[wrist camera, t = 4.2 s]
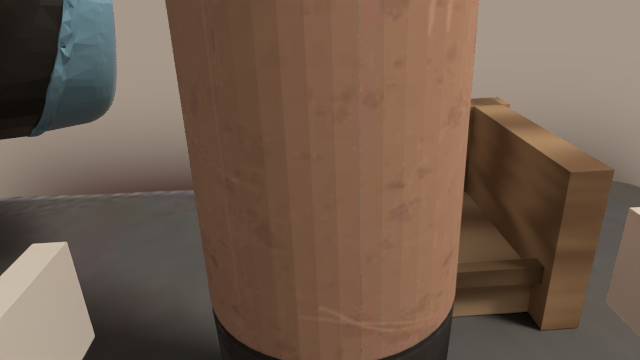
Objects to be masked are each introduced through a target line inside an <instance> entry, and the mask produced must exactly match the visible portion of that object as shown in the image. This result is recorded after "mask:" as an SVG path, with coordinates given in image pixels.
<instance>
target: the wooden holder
mask: <svg viewBox="0 0 640 360" xmlns="http://www.w3.org/2000/svg"><path fill="white" fill-rule="evenodd" d="M509 107H510V104H509V103H507V102H505V101H503V100H501V99H500V98H479V99H471V104H470V116H469V129H468V141H467V153H466V166H465V178H464V191H463V203H462V215H461V228H460V240H459V252H458V265H457V277H456V290H455V297H454V308H453V315H452V317H457V316H472V315H486V314H500V313H514V312H528V313H529V314H530V316H531V317H532V319H533V320H534V321H535V323H536V324H537V326H538V327H539V328H540V330H552V329H566V328H578V325H579V321H580V317H581V312H582V308H583V304H584V299H585V295H586V291H587V286H588V282H589V278H590V273H591V269H592V265H593V260H594V256H595V252H596V247H597V243H598V239H599V234H600V230H601V226H602V221H603V217H604V213H605V208H606V204H607V200H608V195H609V191H610V187H611V182H612V178H613V173H614V169H612V168H610V167H609V166H607V165H605V164H604V163H602V162H600V161H599V160H597V159H595V158H593V157H592V156H590V155H588V154H587V153H585V152H583V151H581V150H580V149H578V148H576V147H575V146H573V145H571V144H569V143H568V142H566V141H564V140H562V139H561V138H559V137H557V136H556V135H554V134H552V133H551V132H549V131H547V130H545V129H544V128H542V127H540V126H539V125H537V124H535V123H533V122H532V121H530V120H528V119H527V118H525V117H523V116H522V115H520V114H518V113H516V112H515V111H513V110H511V109H510V108H509Z"/></svg>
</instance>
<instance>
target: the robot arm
mask: <svg viewBox="0 0 640 360" xmlns="http://www.w3.org/2000/svg"><path fill="white" fill-rule="evenodd" d="M116 67H117V66H116V38H115V24H114V13H113V3H112V0H0V140H1V139H9V138H16V137H25V136H27V137H34V136H39V135H41V134H42V133H44V132H45V131H50V130H55V129H60V128H65V127H70V126H75V125H80V124H85V123H89V122H92V121H95V120H97V119H98V118H100V117H101V116H103V115H104V114H105V113H106V112H107V111H108V110H109V108H110V106H111V105H112V102H113V100H114V96H115V91H116V74H117V71H116V70H117V68H116ZM606 303H607V304H608V305H609V307H610V308H611V309H612V310H613V311H614V312H615V313H616V314H617V315H618V316H619V317H620V318H621V319H622V320H623V321H624V322H625V323H626V324H627V325H628V326H629V327H630V328H631V329H632V330H633V331H634V332H635V333H636V334H637V335H638V336H639V337H640V207H636V208H629V212H628V216H627V219H626V223H625V227H624V231H623V235H622V239H621V243H620V247H619V251H618V255H617V259H616V263H615V267H614V270H613V274H612V278H611V282H610V286H609V290H608V294H607V298H606ZM94 337H95V335H94V331H93V328H92V324H91V321H90V318H89V314H88V311H87V308H86V304H85V301H84V298H83V294H82V291H81V288H80V284H79V281H78V278H77V274H76V271H75V267H74V264H73V261H72V257H71V254H70V251H69V247H68V244H67V242H55V243H38V244H32V245H31V246H30V247H29V248H28V249H27V250H26V251H25V252H24V253H23V254H22V255H21V256H20V257H19V258H18V259H17V260H16V261H15V262H14V263H13V264H12V265H11V266H10V267H9V268H8V269H7V270H6V271H5V272H4V273H3V274H2V275H1V276H0V360H82V359H83V357H84V355H85V354H86V352H87V350H88V348H89V346H90V345H91V343H92V341H93V339H94Z"/></svg>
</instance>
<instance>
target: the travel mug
mask: <svg viewBox="0 0 640 360" xmlns="http://www.w3.org/2000/svg"><path fill="white" fill-rule="evenodd" d="M165 1H166V7H167V14H168V21H169V28H170V34H171V41H172V47H173V54H174V61H175V67H176V74H177V81H178V87H179V94H180V100H181V107H182V113H183V120H184V127H185V133H186V139H187V146H188V153H189V160H190V166H191V173H192V179H193V185H194V193H195V199H196V206H197V212H198V219H199V226H200V232H201V239H202V245H203V252H204V259H205V265H206V272H207V278H208V285H209V292H210V298H211V302H212V306H213V314H214V319H215V324H216V328H217V333H218V338H219V343H220V348H221V353H222V358H223V360H447V353H448V345H449V338H450V330H451V323H452V315H453V308H454V297H455V290H456V277H457V265H458V252H459V240H460V228H461V215H462V203H463V191H464V178H465V166H466V153H467V141H468V129H469V116H470V104H471V91H472V78H473V67H474V54H475V42H476V29H477V17H478V5H479V0H165Z"/></svg>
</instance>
